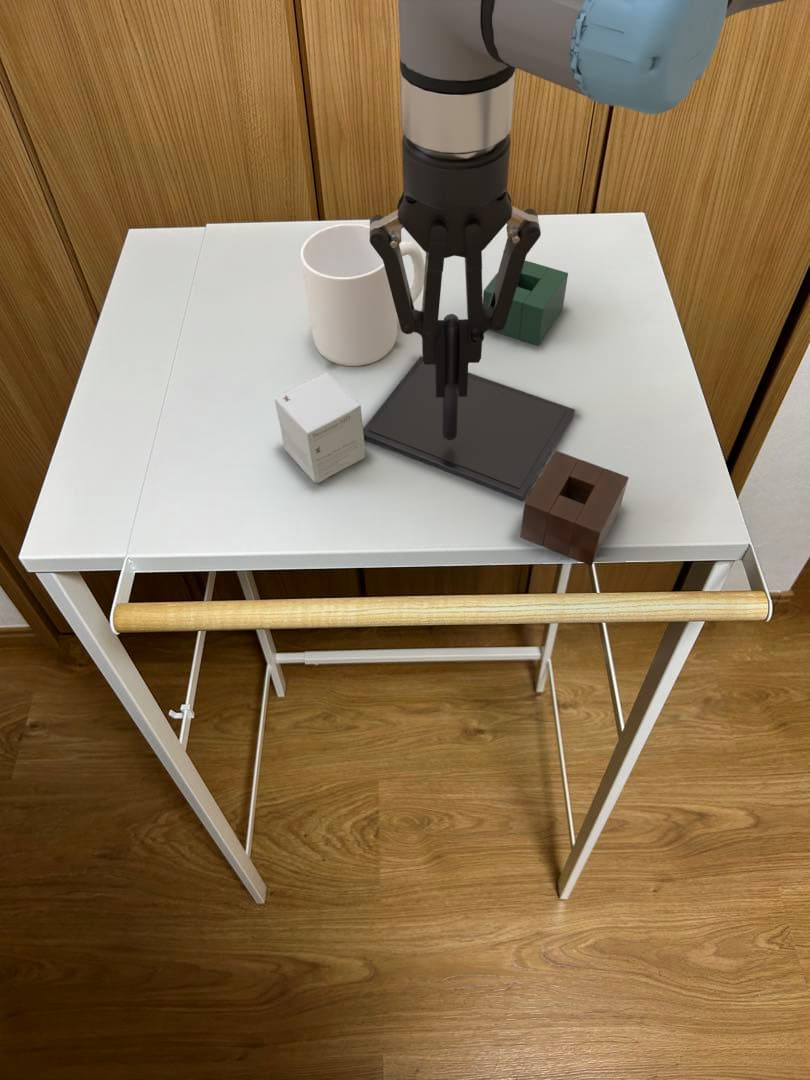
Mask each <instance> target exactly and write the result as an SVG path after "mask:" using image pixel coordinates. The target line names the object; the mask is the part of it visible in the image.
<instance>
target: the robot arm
mask: <svg viewBox="0 0 810 1080" xmlns="http://www.w3.org/2000/svg"><path fill="white" fill-rule="evenodd" d="M785 1H786V0H397V13H398V16H397V17H398V36H399V39H398V41H399V94H400V95H399V99H400V127H401V130H402V133H403V135H402V138H401V156H402V157H401V158H402V160H401V161H402V187H403V190H402V192H401V193H402V194H401V196H400V197H399V199H398V202H397V207H396V208H397V210H394V211H393V212H391V213H389V214H388V215H385V216H383V215H381V214H374V215H372V216H371V217H370V219H369V226H370V243H371V245H372V246H373V248H374V249H375V250H376V252H377V253H378V254H379V256H380V257H381V258H382V260H383V263H384V267H385V270H386V274H387V278H388V282H389V286H390V290H391V293H392V297H393V301H394V305H395V309H396V315H397V321H398V324H399V328H400V331H401V332H402V333H403V334H405V335H411V334H413V333H415V334H418V335H419V336H421V352H422V354H421V356H422V357H423V362H424V364H425V365H432V364H435V386H436V397H444V396H445V330H444V322H443V320H444V319H439V314H440V304H441V292H442V291H441V290H442V282H443V281H442V280H443V272H444V264H445V259H448V258H451V257H459V258H464V273H465V274H464V275H465V294H466V296H465V297H466V315H467V316H466V318H464V319H463V318H462V319H461V318H459V343H458V394H459V397H465V396H467V385H468V373H469V364H478V363H480V361H481V360H482V353H483V341H484V339H485V333H486V332H487V331H491V330H490V329H493V330H495V331H500V330H502V329H503V328H504V327H505V325H506V321H507V318H508V315H509V311H510V308H511V305H512V301H513V298H514V295H515V291H516V288H517V285H518V282H519V278H520V275H521V272H522V268H523V265H524V262H525V261H526V258H527V255H528V254H529V252H530V251H531V250H532V248H533V247H534V245H535V244H536V243H537V242H538V240H539V239H540V238H541V234H542V231H541V226H540V221H539V216H538V213H537V211H536V210H535V209H533V208H527V209H525V210H524V211H523V210H521V209H519V208H518V207H516V206H514V205H512V198H511V195H510V194H509V192H508V180H509V169H510V155H511V136H510V132H511V131H512V126H513V119H514V118H513V116H514V114H513V113H514V100H515V86H516V85H515V84H516V73H517V72H516V71H517V69H518V70H520V71H522V72H525V73H527V74H530V75H533V76H535V77H537V78H540V79H543V80H545V81H547V82H550V83H553V84H555V85H557V86H560V87H562V88H564V89H566V90H570V91H572V92H574V93H577V94H580V95H582V96H584V97H587V98H589V100H591V101H593V102H596V103H597V104H600V105H609V106H611V107H621V108H624V109H628V110H632V111H635V112H638V113H641V114H645V115H659V114H663V113H666V112H668V111H670V110H673V108H675V107H676V106H678V105H679V104H681V102H682V101H683V100H685V99H686V97H687V96H688V95H689V94H690V92H691V89H692V87H693V85H694V83H695V82H696V81H698V80H700V79H701V78H702V76H703V74H704V72H705V71H706V69H707V67H708V66H709V64H710V61H711V60H712V57H713V55H714V53H715V50H716V48H717V46H718V43H719V40H720V38H721V34H722V31H723V27H724V24H725V20H726V19H728V18H729V17H731V16H734V15H737V14H738V13H742V12H745V11H747V10H750V9H751V10H752V9H755V8H756V9H757V8H759V7H764V6H769V5H774V4H777V3H781V2H785ZM505 226H506V229H505V230H506V235H507V239H506V242H505V244H504V245H505V246H504V249H503V252H502V256H501V260H500V263H499V267H498V270H497V273H498V274H497V273H496V274H497V278H496V281H495V285H494V289H493V292H492V296H491V300H490V303H489V307H486V308H483V251H484V250H485V249H486V248H487V247H488V246H489V244H490V243H492V241H493V240H494V238H496V236H497V235H498V234H499V233H500V232H501V230H502V229H503V228H504V227H505ZM403 228H404V230H405V231H406V232H407V233H408V234H409V235H410V237H411V238H412V239H413V240H414V241H415V242H416V244H418V247H419V248H421V249H422V251H424V252H425V258H424V259H425V260H424V264H425V274H424V285H423V289H422V303H421V305H422V306H421V310H418V309H415V306H414V305H415V304H414V303H413V301H412V297H411V292H410V288H411V287H410V284H409V281H408V277H407V271H406V267H405V264H404V260H403V259H404V258H403V256H402V255H401V250H400V246H399V244H400V243H401V242H402V229H403ZM495 331H494V332H495Z"/></svg>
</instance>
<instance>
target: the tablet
mask: <svg viewBox="0 0 810 1080" xmlns="http://www.w3.org/2000/svg"><path fill="white" fill-rule="evenodd" d="M575 412H576V409H574V408H572V407H568V406H567V405H563V404H560V403H557V402H555V401H551V400H548V399H546V398H542V397H540V396H538V395H534V394H532V393H528V392H526V391H523V390H520V389H517V388H514V387H511V386H509V385H505V384H503V383H500V382H496V381H494V380H491V379H488V378H485V377H482V376H479V375H476V374H475V373H471V372H468V385H467V396H465V397H459V394H458V409H457V436H456V437H455V439H453V440H446V439H445V438H444V437H443V397H436V386H435V364H432V365H425V364H424V362H423V355H420V356H419V357H418V358H417V360H416V361H415V363H414V364H413V365H412V367H410V369H409V370H408V371H407V373H406V374H405V375H404V376H403V378H402V379H401V380H400V381H399V383H398V384H397V385H396V387H395V388H394V389H393V391H392V392H391V393H390V394H389V395H388V397H387V398H386V399H385V400H384V402H383V403H382V404H381V405H380V407H379V408H378V409H377V411H376V412H375V413H374V414H373V416H372V417H371V418H370V419H369V421H368V422H367V424H365V426H363V434H364V441H368V442H371V443H373V444H376V445H378V446H381V447H383V448H385V449H388V450H391V451H393V452H396V453H398V454H401V455H403V456H406V457H409V458H412V459H414V460H416V461H419V462H422V463H425V464H427V465H430V466H432V467H434V468H437V469H440V470H442V471H444V472H446V473H450V474H452V475H455V476H457V477H460V478H463V479H465V480H468V481H470V482H473V483H476V484H478V485H481V486H484V487H485V488H488V489H491V490H494V491H496V492H499V493H501V494H503V495H506V496H509V497H511V498H514V499H517V500H519V501H521V502H522V501H524V499H525V498H526V496H527V494H528V493H529V491H530V489H531V488H532V486H533V485H534V483H535V481H536V479H537V478H538V476H539V474H540V472H541V471H542V469H543V468H544V466H545V464H546V463H547V461H548V459H549V458H550V455H551V454H552V452H553V451H554V449H555V448H556V446H557V444H558V442H559V441H560V439H561V438H562V436H563V434H564V433H565V431H566V429H567V428H568V426H569V424H570V422H571V421H572V419H573V417H574V415H575Z"/></svg>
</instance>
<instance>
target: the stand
mask: <svg viewBox="0 0 810 1080" xmlns="http://www.w3.org/2000/svg"><path fill="white" fill-rule="evenodd" d="M497 274H498V272H497V273H496V274H495V275H494V276H493V278H492V279H491V280H490V281H489V283H488V284H487V286H485V288H484V289H483V290H482V296H483V308H486V307H489V303H490V300H491V296H492V292H493V289H494V285H495V281H496V278H497ZM568 277H569V273H568V272H566V271H563V270H561V269H560V270H559V269H556V268H552V267H549V266H546V265H542V264H540V263H537V262H536V263H535V262H532V261H529V260H525V262H524V265H523V268H522V272H521V275H520V278H519V282H518V285H517V288H516V291H515V295H514V298H513V301H512V305H511V308H510V311H509V315H508V318H507V321H506V325H505V327H504V328H503V329H502V330H500V331H495V330H493V329H490V330H489V331H492V332H495V333H498V334H501V335H504V336H507V337H510V338H513V339H517V340H519V341H522V342H525V343H529V344H531V345H535V346H540V344H541V343H542V341H543V340H544V338H545V337H546V335H547V334H548V332H549V331H550V330H551V328H552V326H553V325H554V323H555V322H556V320H557V319H558V317H559V316H560V314H561V313H562V311H563V310H564V304H565V298H566V291H567V284H568Z"/></svg>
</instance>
